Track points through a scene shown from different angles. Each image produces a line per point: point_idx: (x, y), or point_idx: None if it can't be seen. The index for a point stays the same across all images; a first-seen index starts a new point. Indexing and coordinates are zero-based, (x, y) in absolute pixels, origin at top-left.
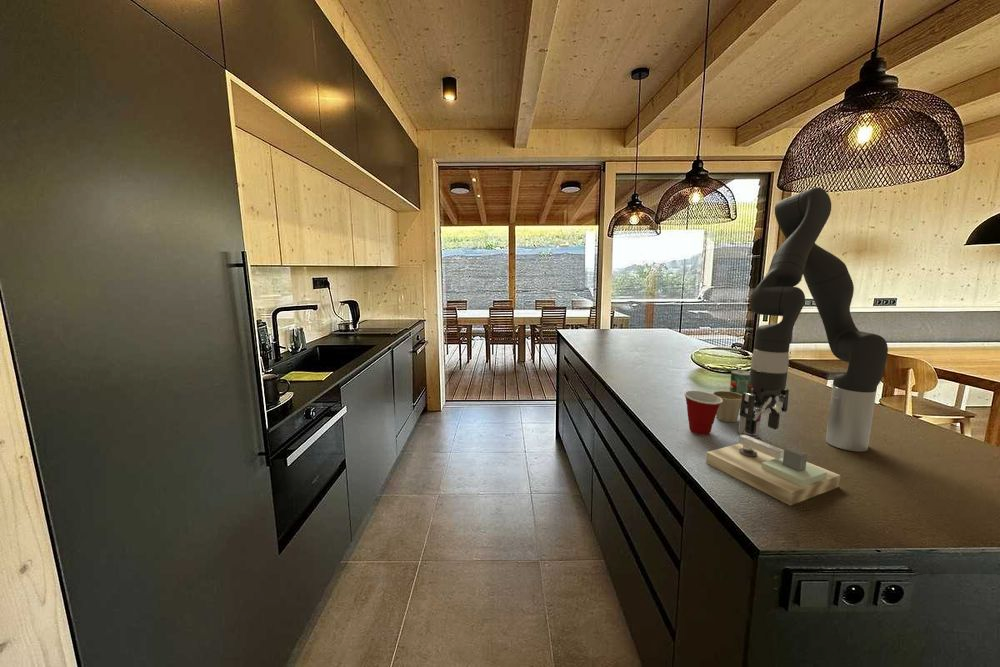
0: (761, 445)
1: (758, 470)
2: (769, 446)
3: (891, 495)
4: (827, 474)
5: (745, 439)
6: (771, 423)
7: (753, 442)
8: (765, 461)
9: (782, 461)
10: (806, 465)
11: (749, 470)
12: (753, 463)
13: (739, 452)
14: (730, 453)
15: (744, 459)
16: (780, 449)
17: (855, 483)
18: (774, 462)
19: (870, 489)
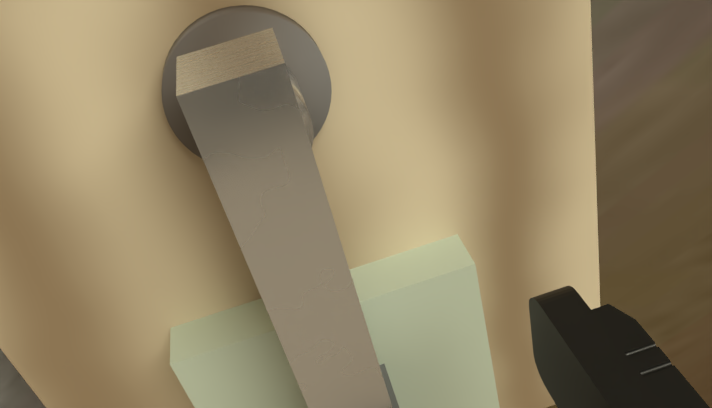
0: (273, 317)
1: (121, 355)
2: (322, 357)
3: (704, 385)
4: (542, 385)
5: (207, 167)
6: (560, 371)
7: (243, 250)
8: None
9: None
10: (470, 390)
11: (44, 354)
12: (159, 261)
13: (165, 63)
14: (48, 65)
15: (123, 194)
16: (370, 406)
17: (686, 304)
18: (278, 359)
19: (683, 348)
